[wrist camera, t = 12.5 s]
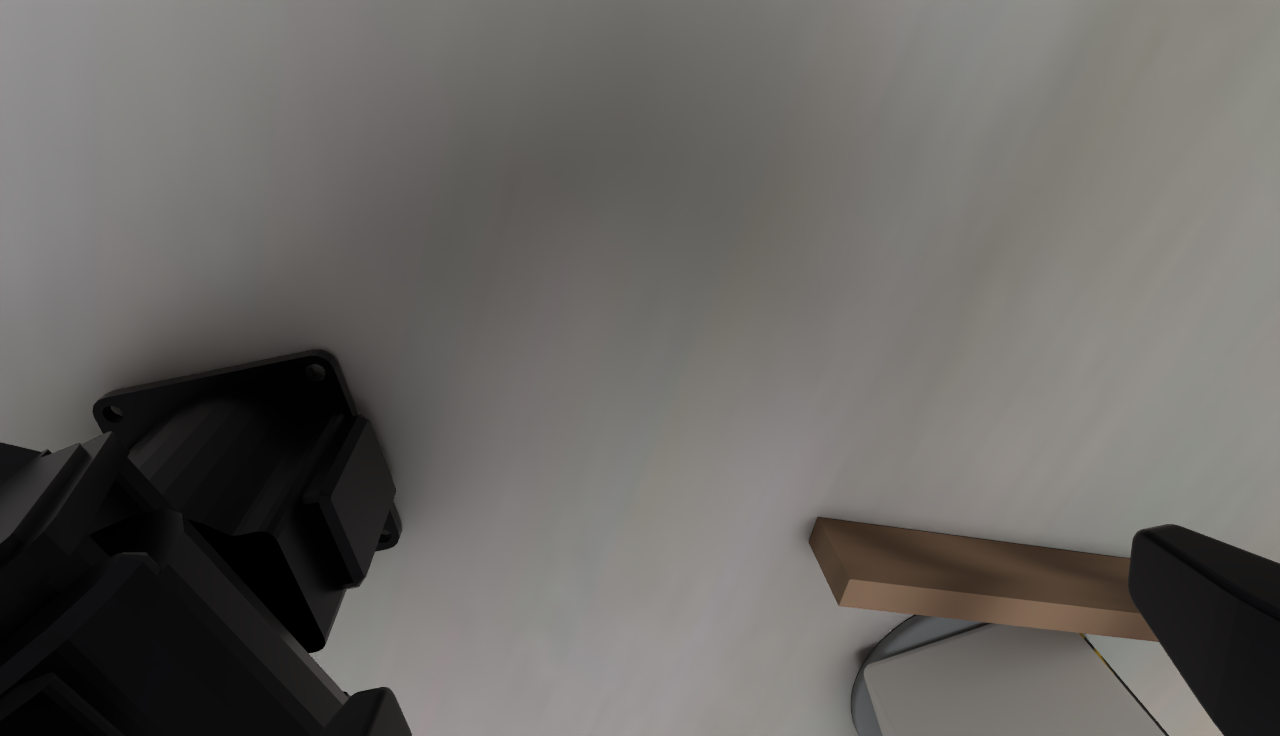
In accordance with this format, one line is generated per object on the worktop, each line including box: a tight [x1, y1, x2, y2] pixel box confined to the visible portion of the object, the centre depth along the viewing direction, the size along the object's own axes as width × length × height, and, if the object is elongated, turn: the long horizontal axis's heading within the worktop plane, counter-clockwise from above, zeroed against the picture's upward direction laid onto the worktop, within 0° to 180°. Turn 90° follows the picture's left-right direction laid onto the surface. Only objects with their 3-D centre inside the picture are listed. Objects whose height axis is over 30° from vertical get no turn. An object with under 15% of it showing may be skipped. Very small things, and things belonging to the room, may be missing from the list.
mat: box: [851, 615, 1089, 736], centre depth 28 cm, size 9×9×1 cm
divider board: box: [809, 518, 1159, 642], centre depth 25 cm, size 20×1×3 cm, turn 78°
